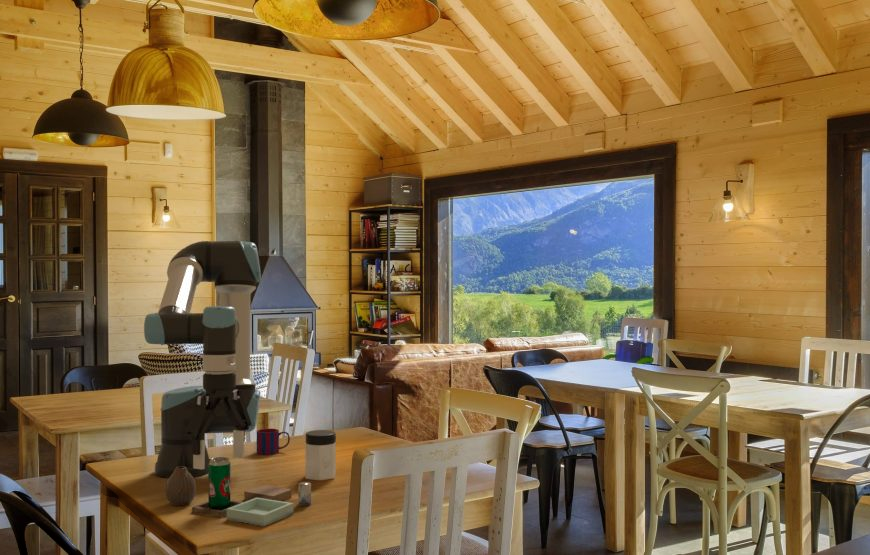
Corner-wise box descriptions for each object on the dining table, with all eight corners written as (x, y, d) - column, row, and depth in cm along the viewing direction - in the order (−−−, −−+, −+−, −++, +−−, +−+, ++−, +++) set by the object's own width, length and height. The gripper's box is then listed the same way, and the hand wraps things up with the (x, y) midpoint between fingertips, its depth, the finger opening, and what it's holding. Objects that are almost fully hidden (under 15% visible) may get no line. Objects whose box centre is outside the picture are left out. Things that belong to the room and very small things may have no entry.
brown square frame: (192, 512, 197) (192, 507, 197) (217, 502, 205) (217, 497, 205) (221, 517, 193) (221, 512, 193) (246, 507, 201) (246, 502, 201)
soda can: (206, 508, 201) (206, 457, 201) (228, 506, 203) (228, 455, 203) (210, 514, 196) (210, 462, 196) (232, 511, 198) (232, 460, 198)
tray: (226, 519, 192) (226, 508, 192) (256, 508, 201) (256, 497, 201) (264, 526, 187) (264, 515, 187) (293, 514, 196) (293, 503, 196)
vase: (167, 508, 200) (167, 471, 200) (164, 501, 207) (164, 465, 206) (197, 505, 203) (197, 469, 203) (193, 498, 209) (193, 462, 209)
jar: (312, 482, 225) (312, 437, 225) (299, 475, 232) (299, 432, 232) (342, 477, 230) (342, 433, 230) (328, 471, 237) (328, 428, 237)
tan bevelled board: (244, 501, 208) (244, 491, 208) (262, 494, 214) (262, 484, 214) (273, 506, 204) (273, 496, 204) (291, 499, 210) (291, 489, 210)
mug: (258, 450, 264) (258, 428, 264) (291, 450, 264) (291, 428, 264) (254, 455, 257) (254, 432, 257) (287, 455, 257) (287, 432, 257)
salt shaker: (295, 505, 204) (295, 484, 203) (303, 502, 206) (303, 481, 206) (306, 506, 202) (306, 485, 202) (313, 503, 205) (313, 483, 205)
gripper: (194, 378, 186) (193, 475, 186) (265, 368, 208) (265, 454, 208) (168, 376, 189) (168, 471, 189) (241, 366, 212) (241, 451, 212)
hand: (219, 463), depth 199 cm, fingers open, 13 cm apart
